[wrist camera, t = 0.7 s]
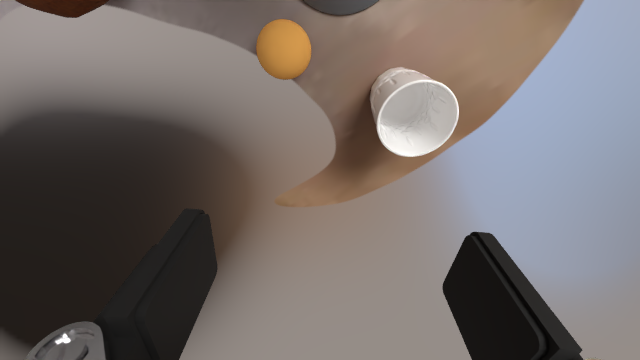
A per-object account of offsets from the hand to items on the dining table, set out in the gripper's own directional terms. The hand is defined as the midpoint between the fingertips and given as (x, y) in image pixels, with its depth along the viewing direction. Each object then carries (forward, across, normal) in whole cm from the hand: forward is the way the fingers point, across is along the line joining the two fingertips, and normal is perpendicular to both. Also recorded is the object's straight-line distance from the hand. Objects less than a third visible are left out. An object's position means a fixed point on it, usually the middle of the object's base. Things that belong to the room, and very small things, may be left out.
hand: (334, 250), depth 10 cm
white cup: (+29, -9, 0) cm, 30 cm away
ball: (+25, +6, -4) cm, 26 cm away
